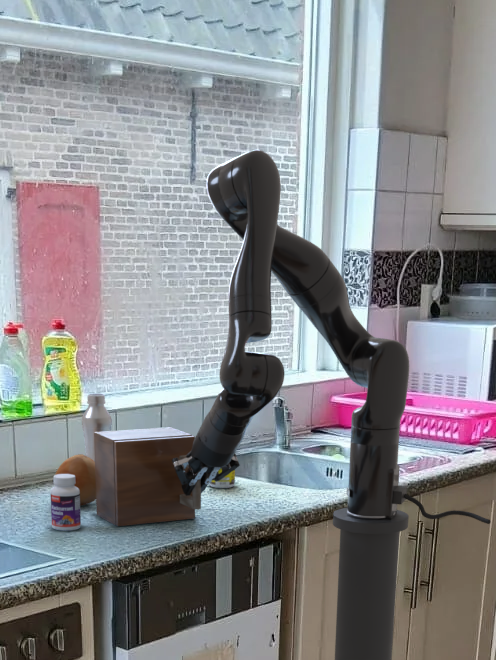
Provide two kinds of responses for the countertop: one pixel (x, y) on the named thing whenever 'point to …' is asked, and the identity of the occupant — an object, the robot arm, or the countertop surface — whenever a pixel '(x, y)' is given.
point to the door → (152, 481)
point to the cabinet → (107, 463)
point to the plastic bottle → (95, 421)
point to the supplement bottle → (224, 481)
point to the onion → (81, 476)
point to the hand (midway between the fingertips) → (191, 491)
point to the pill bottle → (65, 503)
